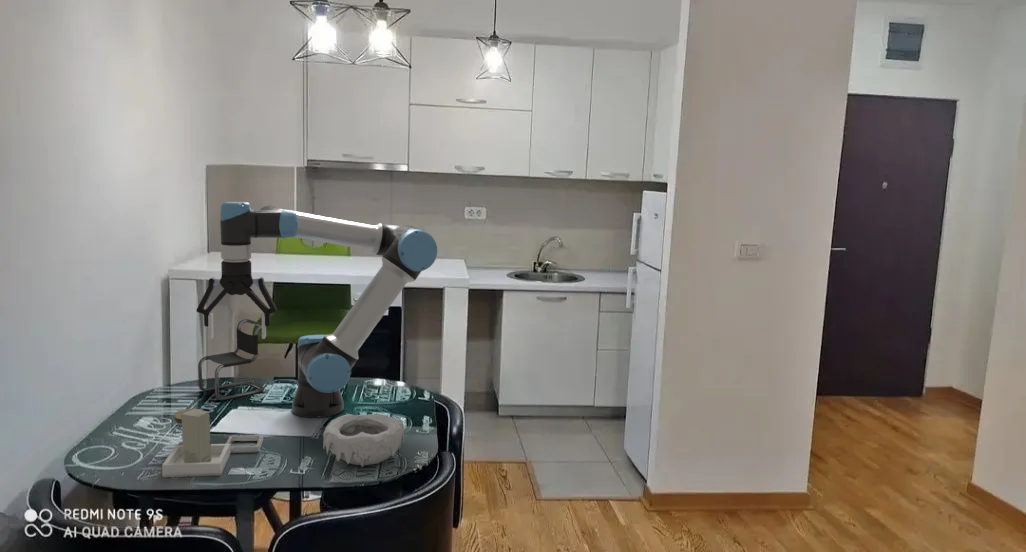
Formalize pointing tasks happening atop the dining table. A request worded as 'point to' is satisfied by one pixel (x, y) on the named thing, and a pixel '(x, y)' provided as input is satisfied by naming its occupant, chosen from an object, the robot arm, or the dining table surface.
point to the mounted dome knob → (179, 421)
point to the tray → (178, 468)
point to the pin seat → (245, 448)
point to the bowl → (363, 438)
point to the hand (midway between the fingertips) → (237, 338)
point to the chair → (234, 361)
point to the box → (196, 436)
